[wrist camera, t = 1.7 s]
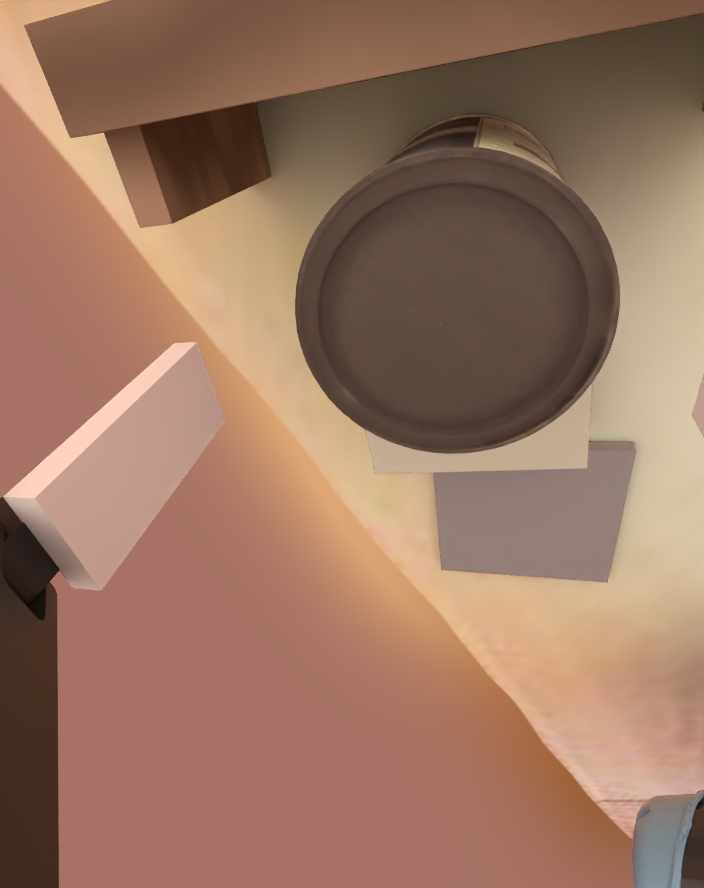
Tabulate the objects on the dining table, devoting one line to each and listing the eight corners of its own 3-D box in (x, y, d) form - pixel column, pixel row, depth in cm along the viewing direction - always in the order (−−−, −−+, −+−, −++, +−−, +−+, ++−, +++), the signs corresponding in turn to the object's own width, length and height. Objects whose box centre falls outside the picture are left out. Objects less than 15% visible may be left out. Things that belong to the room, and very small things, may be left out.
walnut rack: (755, 103, 21) (962, 127, 12) (239, 181, 28) (111, 237, 19) (808, -103, 18) (1162, -300, 8) (203, 43, 25) (24, 25, 15)
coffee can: (362, 299, 31) (290, 424, 20) (385, 99, 24) (298, 122, 13) (528, 330, 30) (549, 482, 19) (598, 129, 23) (693, 180, 12)
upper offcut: (581, 443, 31) (587, 468, 29) (382, 451, 35) (375, 474, 33) (585, 357, 28) (592, 379, 26) (365, 377, 32) (356, 397, 30)
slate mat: (605, 572, 40) (607, 582, 39) (442, 560, 43) (441, 569, 43) (632, 441, 32) (636, 451, 32) (433, 440, 36) (432, 448, 35)
